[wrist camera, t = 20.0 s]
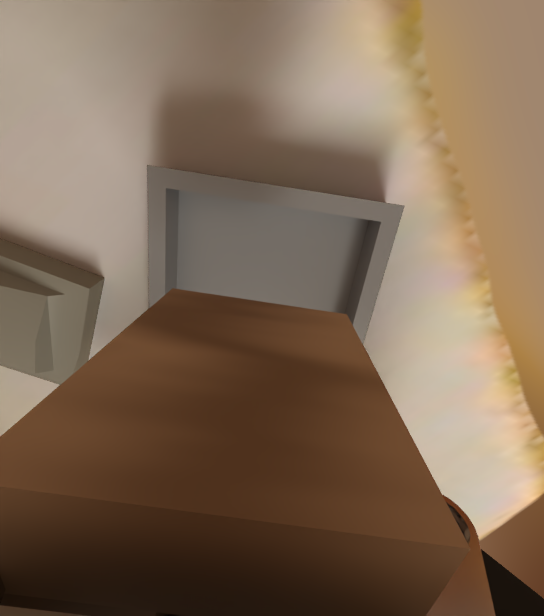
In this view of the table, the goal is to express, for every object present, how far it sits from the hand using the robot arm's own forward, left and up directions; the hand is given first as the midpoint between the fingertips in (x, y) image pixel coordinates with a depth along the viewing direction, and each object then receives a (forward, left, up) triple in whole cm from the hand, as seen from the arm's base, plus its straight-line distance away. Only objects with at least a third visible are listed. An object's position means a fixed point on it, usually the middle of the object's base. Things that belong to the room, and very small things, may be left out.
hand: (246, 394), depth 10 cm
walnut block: (0, 0, -1) cm, 1 cm away
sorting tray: (0, 0, -12) cm, 12 cm away
